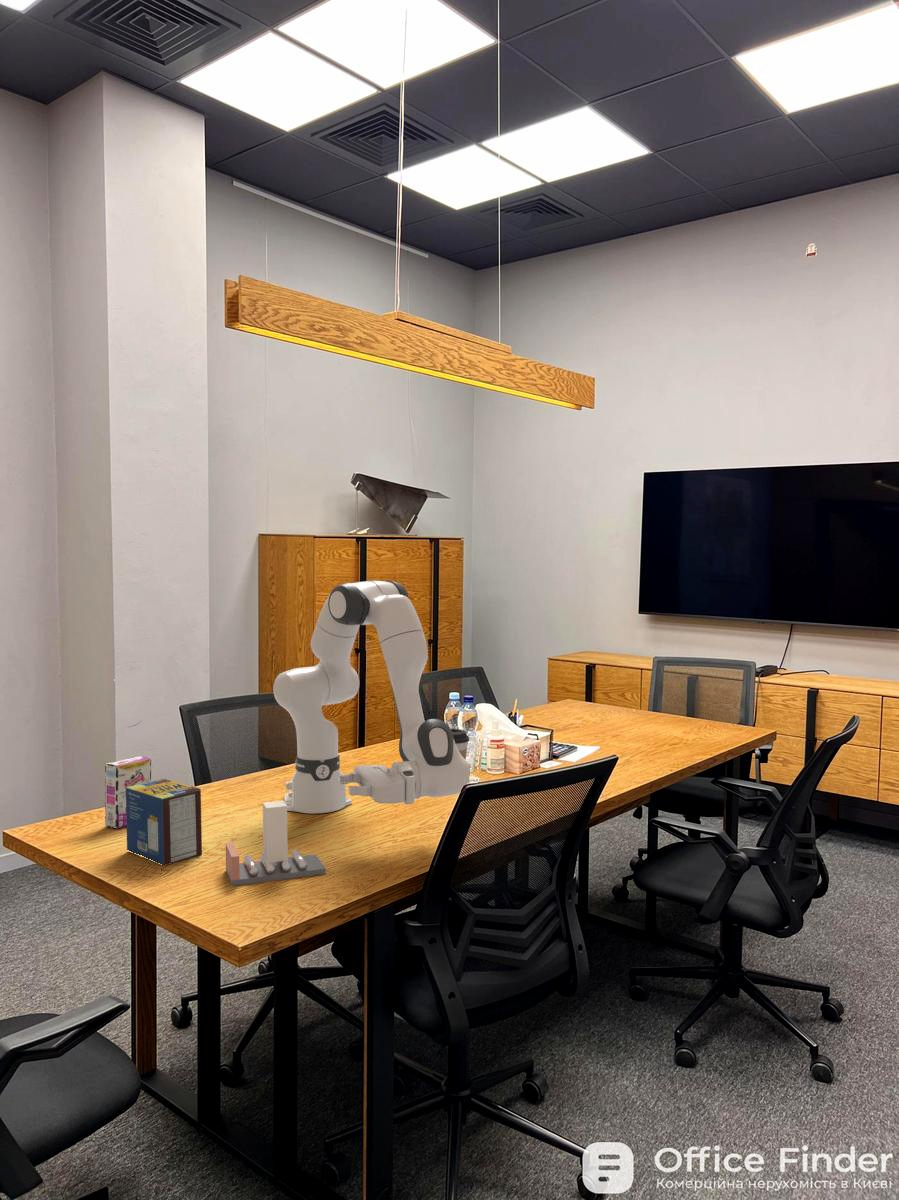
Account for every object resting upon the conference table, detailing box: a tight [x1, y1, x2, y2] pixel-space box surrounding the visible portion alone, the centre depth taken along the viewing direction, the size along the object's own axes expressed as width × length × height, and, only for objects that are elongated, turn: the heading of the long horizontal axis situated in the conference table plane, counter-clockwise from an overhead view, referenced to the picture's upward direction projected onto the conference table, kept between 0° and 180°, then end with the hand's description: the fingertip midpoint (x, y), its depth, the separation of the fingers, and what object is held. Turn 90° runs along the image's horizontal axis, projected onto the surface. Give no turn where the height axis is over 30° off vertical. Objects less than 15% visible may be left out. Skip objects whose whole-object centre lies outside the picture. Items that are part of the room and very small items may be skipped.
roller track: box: [225, 841, 327, 887], centre depth 196 cm, size 10×20×6 cm, turn 111°
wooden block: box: [262, 800, 289, 863], centre depth 196 cm, size 4×4×12 cm
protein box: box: [126, 778, 203, 866], centre depth 209 cm, size 10×15×16 cm
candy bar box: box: [104, 756, 152, 830], centre depth 232 cm, size 11×5×16 cm, turn 149°
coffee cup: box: [450, 728, 470, 761], centre depth 277 cm, size 11×11×15 cm
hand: (344, 785), depth 204 cm, fingers open, 8 cm apart
